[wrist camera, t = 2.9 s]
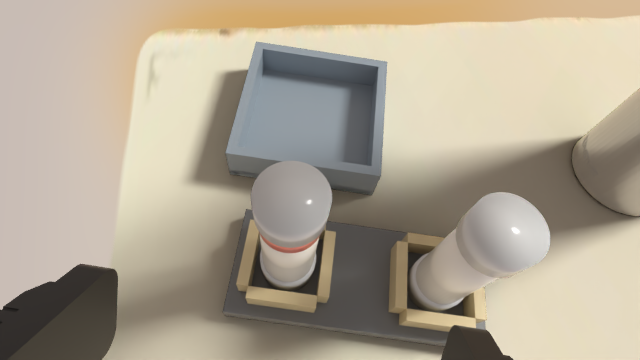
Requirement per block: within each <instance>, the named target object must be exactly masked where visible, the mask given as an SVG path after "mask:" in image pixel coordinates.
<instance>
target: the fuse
mask: <svg viewBox="0 0 640 360" xmlns="http://www.w3.org/2000/svg"><path fill="white" fill-rule="evenodd" d="M549 247H550V232H549V228H548V225H547V223H546V221H545V219H544V217H543V216H542V214H541V213H540V212H539V211H538V209H537V208H536V207H535V206H533V205H532V204H531V203H530V202H528V201H527V200H525V199H524V198H522V197H520V196H518V195H515V194H512V193H507V192H495V193H490V194H487V195H485V196H484V197H482V198H481V199H480V200H479V201H478V202H477V203H476V204H475V205H474V206H472V207H471V208H470V209H469V210H468V211H467V212H466V213H465V214H464V215H463V216H462V218H461V219H460V220H459V222H458V225H457V227H456V228H455V229H454V230H453V231H452V232H451V233H450V234H449V235H448V236H447V237H446V238H445V239H444V240H443V241H441V242H440V243H439V244H438V245H437V246H436V247H435V248H434V249H433V250H432V251H431V252H430V253H427V254H425V255H423V256H422V257H421V258H419V259H418V260H417V261H416V262H415V263H414V264H413V265H412V266H411V267H410V269H409V270H408V272H407V293H408V295H409V297H410V299H411V300H412V302H413V303H414V304H415V305H416V306H418V307H419V308H421V309H422V310H424V311H428V312H435V313H439V312H443V311H445V310H447V309H449V308H451V307H453V306H455V305H457V304H458V303H460V302H461V301H462V300H463V298H464V297H465V296H467V295H469V294H471V293H473V292H475V291H477V290H479V289H480V288H482V287H484V286H486V285H488V284H490V283H492V282H494V281H495V280H497V279H499V278H507V277H511V276H514V275H516V274H518V273H520V272H522V271H523V270H525V269H527V268H529V267H531V266H533V265H535V264H537V263H539V262H540V261H541V260H542V259H543V258H544V257H545V256H546V254H547V252H548V250H549Z"/></svg>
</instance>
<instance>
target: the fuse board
mask: <svg viewBox="0 0 640 360" xmlns="http://www.w3.org/2000/svg"><path fill="white" fill-rule="evenodd" d="M444 239H445V238H443V237H436V236H430V235H423V234H416V233H409V232H408V233H405V232H399V231H392V230H385V229H378V228H371V227H364V226H357V225H351V224H344V223H337V222H330V221H327V223H326V226H325V228H324V230H323V231H322V233H321V234H320V236H319V240H318V244H317V248H316V264H315V268H314V272H313V275H312V277H311V279H310V280H309V282H308V283H307V284H306V285H305V286H303V287H302V288H300V289H298V290H295V291H291V292H288V291H281V290H277V289H275V288H273V287H271V286H270V285H269V284H268V283H267V282H266V280H265V279H264V277H263V274H262V271H261V264H260V252H261V242H260V234H259V231H258V229H257V227H256V225H255V222H254V217H253V210H248V209H246V212H245V217H244V221H243V225H242V230H241V234H240V238H239V243H238V247H237V252H236V256H235V260H234V265H233V269H232V273H231V278H230V282H229V286H228V291H227V295H226V300H225V304H224V308H223V313H224V315H225V316H232V317H239V318H246V319H253V320H260V321H267V322H274V323H281V324H288V325H295V326H303V327H310V328H317V329H324V330H331V331H338V332H345V333H352V334H359V335H366V336H373V337H380V338H388V339H395V340H402V341H409V342H416V343H423V344H430V345H437V346H444V347H445V344H446V341H447V337H448V334H449V331H450V329H451V327H452V326H454V325H459V326H465V327H471V328H478V329H484V330H486V329H485V320H487V315H486V302H485V288H484V287H482V288H480V289H479V290H477V291H475V292H473V293H471V294H469V295H467V296H465V297H464V298H463V300H462V301H461V302H460V303H458V304H457V305H455V306H453V307H451V308H449V309H447V310H445V311H443V312H439V313H435V312H428V311H424V310H422V309H421V308H419V307H418V306H416V305H415V304H414V303H413V302H412V300H411V299H410V297H409V295H408V293H407V272H408V270H409V269H410V267H411V266H412V265H413V264H414V263H415V262H416V261H417V260H418V259H419V258H421V257H422V256H423V255H425V254H427V253H430V252H431V251H432V250H433V249H434V248H435V247H436V246H437V245H438V244H439V243H440V242H441V241H443V240H444Z"/></svg>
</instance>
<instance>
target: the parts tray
mask: <svg viewBox="0 0 640 360" xmlns="http://www.w3.org/2000/svg"><path fill="white" fill-rule="evenodd" d="M386 73H387V62H385V61H379V60H372V59H366V58H359V57H353V56H346V55H340V54H333V53H327V52H320V51H314V50H307V49H301V48H294V47H288V46H281V45H275V44H268V43H262V42H256V44H255V48H254V51H253V55H252V59H251V62H250V66H249V69H248V73H247V77H246V80H245V84H244V87H243V91H242V95H241V98H240V102H239V105H238V109H237V113H236V116H235V120H234V124H233V127H232V131H231V134H230V138H229V142H228V145H227V149H226V152H225V154H226V158H227V162H228V167H229V171H230V174H233V175H240V176H246V177H253V178H257V177H258V176H259V175H260V173H261V172H263V171H264V170H265V169H266V168H268V167H269V166H271V165H273V164H276V163H279V162H283V161H299V162H304V163H307V164H309V165H311V166H313V167H315V168H316V169H318V170H319V171H320V172H321V173H322V174H323V175H324V176H325V178H326V179H327V181H328V182H329V185H330V187H331V189H334V190H341V191H348V192H355V193H361V194H368V195H372V194H373V192H374V190H375V188H376V186H377V183H378V181H379V179H380V177H381V164H382V146H383V127H384V109H385V91H386Z"/></svg>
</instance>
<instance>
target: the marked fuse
mask: <svg viewBox="0 0 640 360" xmlns="http://www.w3.org/2000/svg"><path fill="white" fill-rule="evenodd" d="M251 204H252V210H253V217H254V222H255V225H256V227H257V229H258V231H259V234H260V242H261V252H260V264H261V271H262V274H263V277H264V279H265V280H266V282H267V283H268V284H269V285H270V286H271V287H273V288H275V289H277V290H281V291H288V292H291V291H295V290H298V289H300V288H302V287H303V286H305V285H306V284H307V283H308V282H309V280H310V279H311V277H312V275H313V272H314V268H315V264H316V248H317V244H318V240H319V236H320V234H321V233H322V231H323V230H324V228H325V226H326V223H327V220H328V216H329V212H330V209H331V204H332V191H331V187H330V185H329V182H328V181H327V179H326V178H325V176H324V175H323V174H322V173H321V172H320V171H319V170H318V169H316V168H315V167H313V166H311V165H309V164H307V163H304V162H299V161H283V162H279V163H276V164H273V165H271V166H269V167H268V168H266V169H265V170H264V171H263V172H261V173H260V175H259V176H258V177H257V179H256V180H255V182H254V184H253V187H252V190H251Z"/></svg>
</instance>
